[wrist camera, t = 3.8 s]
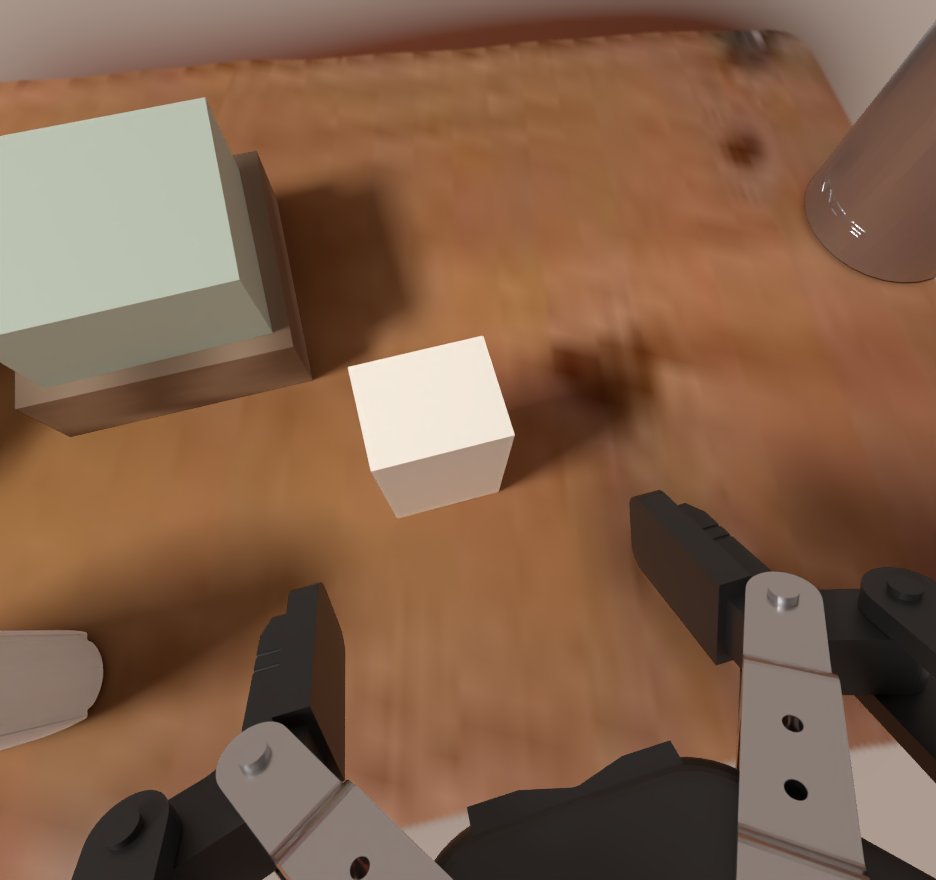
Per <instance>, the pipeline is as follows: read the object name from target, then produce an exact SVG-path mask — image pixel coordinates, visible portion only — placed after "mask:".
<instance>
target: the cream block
mask: <svg viewBox="0 0 936 880" xmlns="http://www.w3.org/2000/svg"><path fill="white" fill-rule="evenodd" d="M348 370H349V375H350V379H351V384H352V388H353V393H354V397H355V402H356V406H357V411H358V415H359V420H360V424H361V429H362V433H363V438H364V442H365V447H366V451H367V456H368V460H369V465H370V470H371V473H372V474H373V476H374V478H375V480H376V482H377V483H378V485H379V487H380V489H381V491H382V492H383V494H384V496H385V498H386V500H387V501H388V503H389V505H390V507H391V509H392V510H393V512H394V514H395V516H396V518H397V519H398V518H401V517H405V516H409V515H413V514H417V513H420V512H424V511H428V510H432V509H436V508H439V507H443V506H447V505H451V504H454V503H458V502H462V501H466V500H470V499H473V498H477V497H481V496H485V495H489V494H492V493H496V492H499V489H500V485H501V482H502V478H503V475H504V471H505V468H506V464H507V461H508V457H509V454H510V450H511V447H512V443H513V440H514V436H515V434H514V431H513V428H512V425H511V421H510V418H509V415H508V412H507V409H506V406H505V403H504V400H503V397H502V393H501V390H500V387H499V384H498V381H497V378H496V375H495V372H494V368H493V365H492V362H491V359H490V356H489V353H488V350H487V347H486V343H485V340H484V337H483V336H479V337H475V338H471V339H466V340H462V341H458V342H454V343H449V344H445V345H441V346H436V347H432V348H428V349H423V350H419V351H415V352H410V353H406V354H402V355H398V356H393V357H389V358H385V359H380V360H376V361H372V362H367V363H363V364H359V365H355V366H350V367H348Z"/></svg>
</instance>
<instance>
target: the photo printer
mask: <svg viewBox="0 0 936 880" xmlns="http://www.w3.org/2000/svg"><path fill="white" fill-rule="evenodd" d="M102 679H103V663H102V658H101V655H100V653H99V651H98V649H97V647H96V646H95V645H94V644H93V643H92V642H90V641H88V640H87V633H86V632H82V631H75V630H20V631H0V750H3V749H7V748H10V747H13V746H17V745H20V744H23V743H27V742H30V741H33V740H37V739H40V738H43V737H45V736H48V735H51V734H53V733H56V732H58V731H61V730H63V729H66V728H68V727H70V726H72V725H74V724H76V723H78V722H80V721H82V720H84V719H86V718H87V716H88V715H87V710H88V709H89V708H90V707H91V706H92V705H93V704H94V702H95V700H96V699H97V696H98V694H99V691H100V688H101V685H102Z"/></svg>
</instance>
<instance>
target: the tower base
mask: <svg viewBox="0 0 936 880" xmlns="http://www.w3.org/2000/svg"><path fill="white" fill-rule="evenodd" d="M232 156H233V158H234V160H235V162H236V164H237V166H238V168H239V172H240V176H241V181H242V186H243V191H244V196H245V201H246V206H247V210H248V215H249V220H250V225H251V230H252V235H253V240H254V244H255V249H256V254H257V259H258V264H259V269H260V274H261V278H262V283H263V288H264V293H265V298H266V303H267V308H268V313H269V318H270V322H271V327H272V332H273V333H270V334H266V335H262V336H258V337H254V338H250V339H246V340H241V341H237V342H233V343H229V344H225V345H221V346H217V347H212V348H208V349H204V350H200V351H196V352H192V353H188V354H184V355H179V356H175V357H171V358H167V359H163V360H159V361H155V362H150V363H146V364H142V365H138V366H134V367H130V368H126V369H121V370H117V371H113V372H109V373H105V374H101V375H97V376H93V377H88V378H84V379H80V380H76V381H72V382H68V383H64V384H59V385H55V386H51V387H47V388H43V387H41V386H39V385H38V384H36V383H34V382H33V381H31V380H29V379H27V378H26V377H24V376H22V375H21V374H19V373H17V372H15V410H17V411H19V412H21V413H23V414H25V415H27V416H29V417H31V418H33V419H35V420H37V421H39V422H41V423H43V424H45V425H47V426H49V427H51V428H53V429H55V430H57V431H59V432H61V433H63V434H65V435H67V436H69V437H72V436H77V435H81V434H85V433H90V432H94V431H98V430H102V429H107V428H111V427H115V426H120V425H124V424H128V423H132V422H137V421H141V420H145V419H150V418H154V417H158V416H162V415H167V414H171V413H175V412H179V411H184V410H188V409H192V408H197V407H201V406H205V405H209V404H214V403H218V402H222V401H227V400H231V399H235V398H239V397H244V396H248V395H252V394H256V393H261V392H265V391H269V390H274V389H278V388H282V387H286V386H291V385H295V384H299V383H304V382H308V381H312V380H313V379H312V374H311V369H310V364H309V359H308V354H307V349H306V344H305V339H304V334H303V329H302V323H301V318H300V313H299V308H298V303H297V298H296V293H295V288H294V283H293V278H292V273H291V268H290V262H289V257H288V252H287V247H286V242H285V237H284V232H283V227H282V222H281V217H280V212H279V207H278V202H277V199H276V197H275V194H274V192H273V189H272V187H271V185H270V182H269V180H268V177H267V175H266V173H265V170H264V168H263V165H262V163H261V161H260V158H259V156H258V153H257V151H254V152H248V153H243V154H237V155H232Z"/></svg>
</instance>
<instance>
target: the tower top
mask: <svg viewBox="0 0 936 880" xmlns="http://www.w3.org/2000/svg"><path fill="white" fill-rule="evenodd" d="M270 333H273V332H272V327H271V322H270V318H269V313H268V308H267V303H266V298H265V293H264V288H263V283H262V278H261V274H260V269H259V264H258V259H257V254H256V249H255V244H254V240H253V235H252V230H251V225H250V220H249V215H248V210H247V206H246V201H245V196H244V191H243V186H242V181H241V176H240V172H239V168H238V166H237V164H236V162H235V160H234V158H233V156H232V154H231V151H230V149H229V147H228V145H227V143H226V141H225V139H224V137H223V134H222V132H221V130H220V128H219V126H218V124H217V122H216V120H215V118H214V115H213V113H212V111H211V109H210V107H209V105H208V103H207V101H206V99H205V97H204V98H199V99H194V100H189V101H183V102H178V103H173V104H167V105H162V106H157V107H152V108H146V109H141V110H136V111H130V112H125V113H120V114H115V115H109V116H104V117H99V118H93V119H88V120H83V121H78V122H72V123H67V124H62V125H57V126H51V127H46V128H41V129H35V130H30V131H25V132H20V133H14V134H9V135H4V136H0V363H2V364H3V365H5V366H7V367H9V368H10V369H12V370H14V371H15V372H17V373H19V374H21V375H22V376H24V377H26V378H27V379H29V380H31V381H33V382H34V383H36V384H38V385H39V386H41V387H43V388H47V387H51V386H55V385H59V384H64V383H68V382H72V381H76V380H80V379H84V378H88V377H93V376H97V375H101V374H105V373H109V372H113V371H117V370H121V369H126V368H130V367H134V366H138V365H142V364H146V363H150V362H155V361H159V360H163V359H167V358H171V357H175V356H179V355H184V354H188V353H192V352H196V351H200V350H204V349H208V348H212V347H217V346H221V345H225V344H229V343H233V342H237V341H241V340H246V339H250V338H254V337H258V336H262V335H266V334H270Z"/></svg>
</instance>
